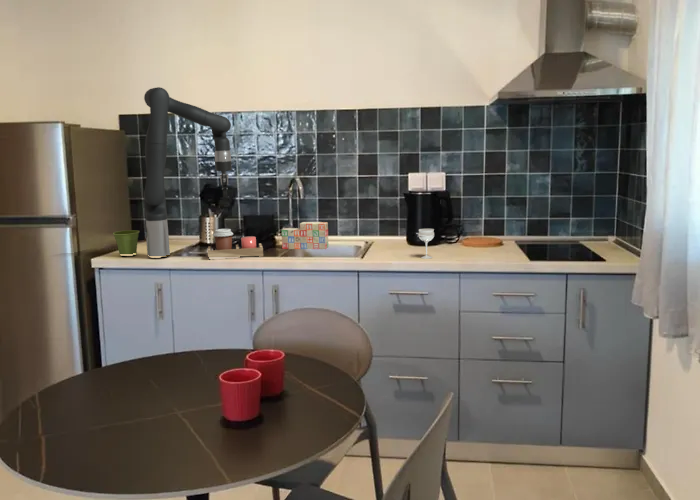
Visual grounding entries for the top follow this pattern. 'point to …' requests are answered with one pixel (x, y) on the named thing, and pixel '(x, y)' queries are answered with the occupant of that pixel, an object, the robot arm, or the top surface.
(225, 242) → the coffee cup
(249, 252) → the oak rack
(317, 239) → the stack of blocks
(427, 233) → the wineglass
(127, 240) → the plant pot
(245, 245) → the red rounded block
